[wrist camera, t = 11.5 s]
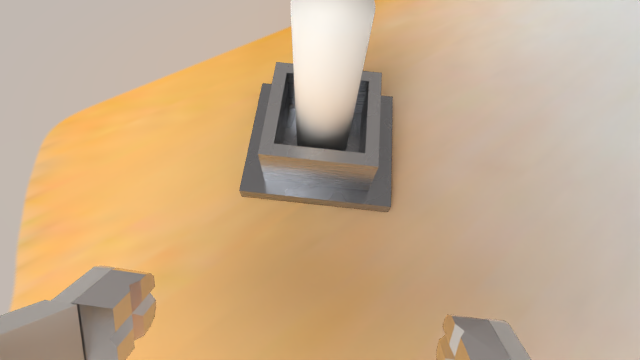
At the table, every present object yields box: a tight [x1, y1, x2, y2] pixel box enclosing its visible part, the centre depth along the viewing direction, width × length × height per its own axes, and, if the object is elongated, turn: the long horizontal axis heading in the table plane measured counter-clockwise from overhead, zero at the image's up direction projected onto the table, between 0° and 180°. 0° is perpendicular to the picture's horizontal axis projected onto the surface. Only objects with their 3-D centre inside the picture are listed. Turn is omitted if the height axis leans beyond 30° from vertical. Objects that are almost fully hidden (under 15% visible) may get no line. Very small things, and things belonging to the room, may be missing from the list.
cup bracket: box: [239, 62, 393, 212], centre depth 24 cm, size 10×9×4 cm
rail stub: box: [291, 0, 375, 151], centre depth 20 cm, size 4×4×11 cm
